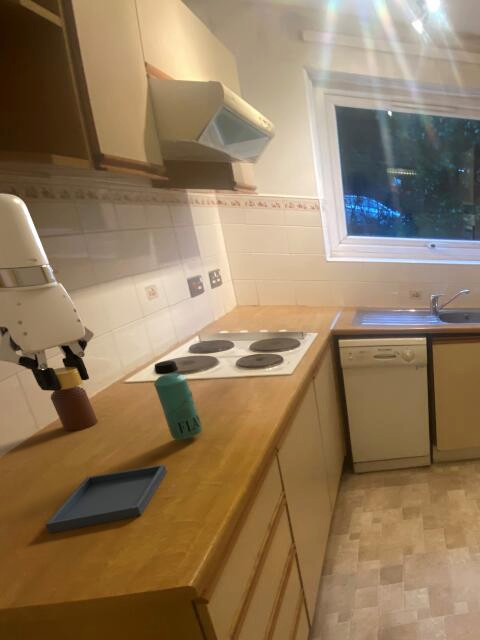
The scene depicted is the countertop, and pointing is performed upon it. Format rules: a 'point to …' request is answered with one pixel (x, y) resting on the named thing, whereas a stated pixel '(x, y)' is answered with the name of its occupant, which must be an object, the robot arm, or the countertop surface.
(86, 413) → the sauce bottle
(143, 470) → the tray
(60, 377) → the cap
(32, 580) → the countertop surface
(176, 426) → the beverage bottle
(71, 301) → the robot arm
